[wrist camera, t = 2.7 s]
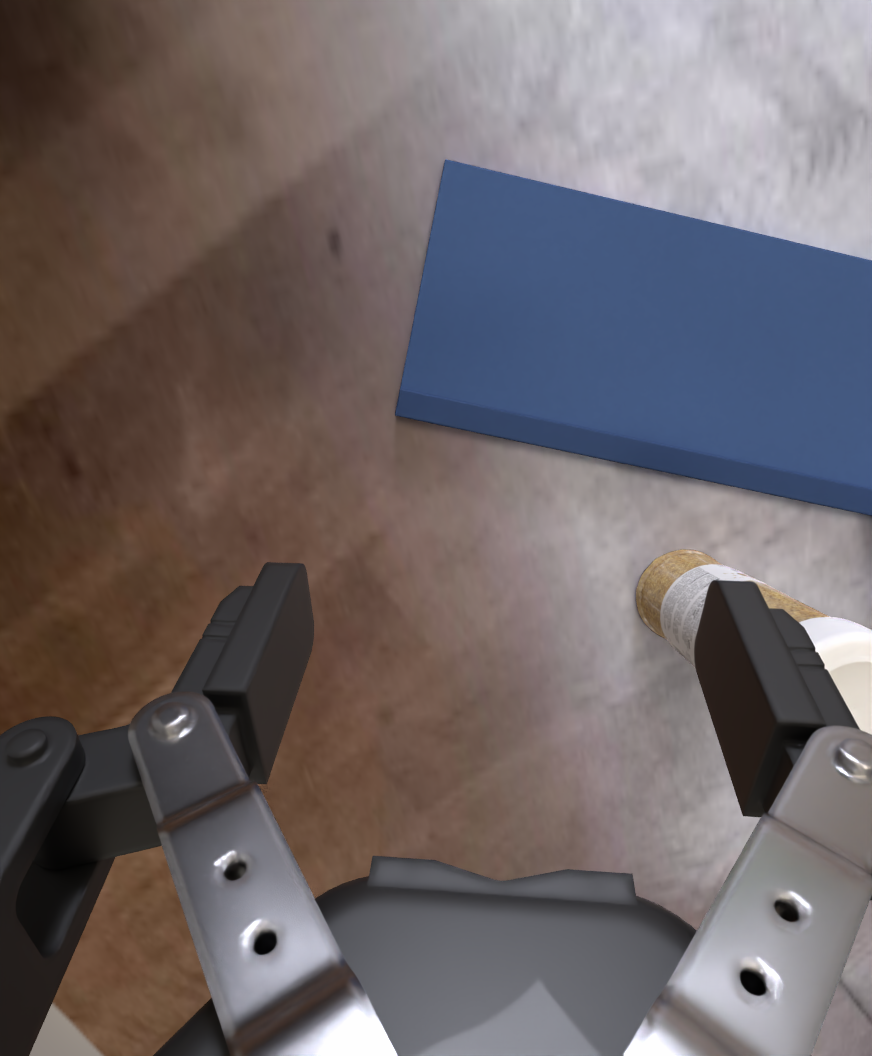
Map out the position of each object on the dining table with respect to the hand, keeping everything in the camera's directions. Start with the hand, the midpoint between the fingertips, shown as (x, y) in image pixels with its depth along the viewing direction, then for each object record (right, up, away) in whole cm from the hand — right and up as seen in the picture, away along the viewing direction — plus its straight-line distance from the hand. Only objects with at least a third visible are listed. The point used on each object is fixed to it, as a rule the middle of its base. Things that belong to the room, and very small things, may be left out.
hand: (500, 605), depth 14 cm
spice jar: (+10, -2, +20) cm, 22 cm away
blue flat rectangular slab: (+10, +10, +18) cm, 22 cm away
